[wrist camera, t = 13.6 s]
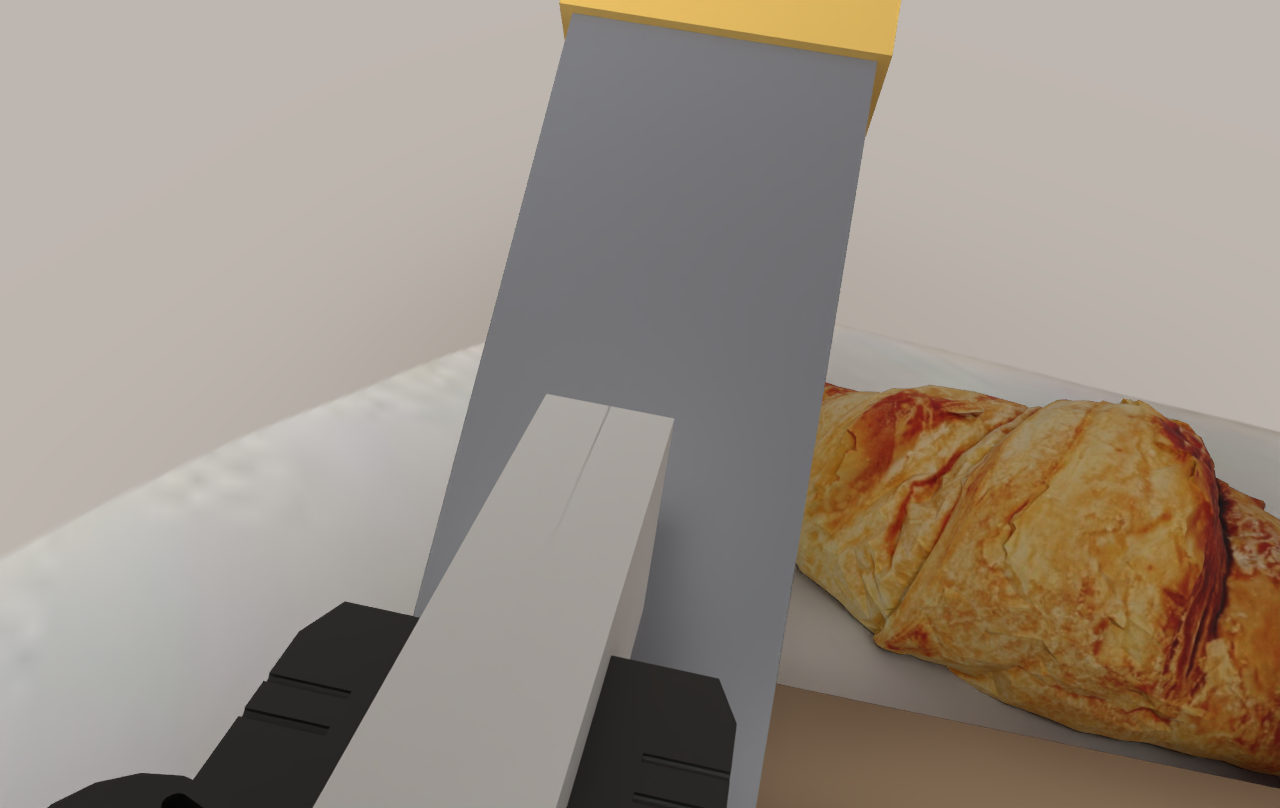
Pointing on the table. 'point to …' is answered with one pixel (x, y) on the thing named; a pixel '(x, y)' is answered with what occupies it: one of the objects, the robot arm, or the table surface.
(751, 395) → the lever
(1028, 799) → the wooden base board
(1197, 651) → the croissant
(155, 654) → the table surface
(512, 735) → the robot arm
